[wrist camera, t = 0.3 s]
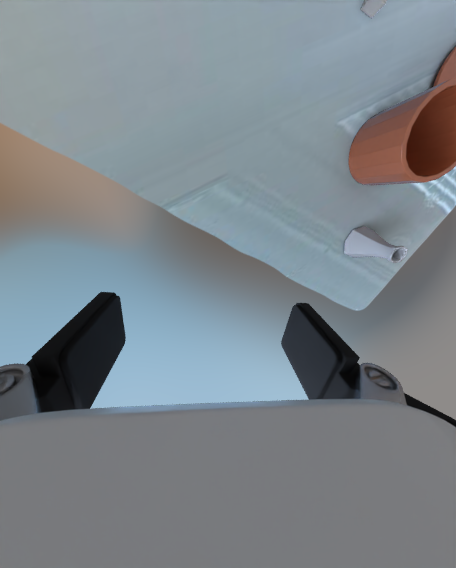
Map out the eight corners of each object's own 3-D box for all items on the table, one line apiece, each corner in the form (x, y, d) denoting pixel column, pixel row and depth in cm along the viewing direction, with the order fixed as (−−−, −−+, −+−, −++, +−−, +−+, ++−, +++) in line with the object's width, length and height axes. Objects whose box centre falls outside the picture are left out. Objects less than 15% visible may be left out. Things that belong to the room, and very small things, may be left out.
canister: (364, 104, 31) (433, 65, 22) (420, 118, 33) (505, 87, 24) (339, 180, 36) (386, 175, 27) (388, 188, 38) (449, 186, 28)
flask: (349, 225, 40) (391, 233, 31) (378, 227, 41) (426, 236, 32) (338, 256, 43) (373, 272, 34) (365, 257, 44) (406, 273, 35)
